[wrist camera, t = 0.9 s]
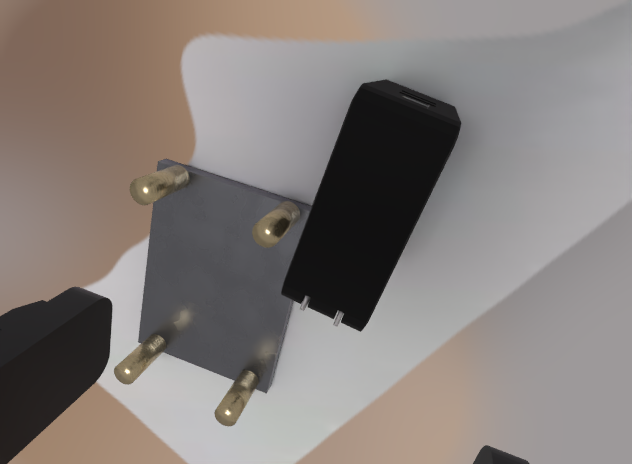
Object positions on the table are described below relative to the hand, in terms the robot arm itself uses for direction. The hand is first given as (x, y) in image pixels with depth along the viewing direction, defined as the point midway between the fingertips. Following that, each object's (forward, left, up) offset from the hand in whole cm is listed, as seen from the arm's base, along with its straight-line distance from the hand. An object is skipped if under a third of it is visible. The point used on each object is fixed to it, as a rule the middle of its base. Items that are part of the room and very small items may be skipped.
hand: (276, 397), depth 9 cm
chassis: (+11, -9, -20) cm, 24 cm away
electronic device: (0, 0, -20) cm, 20 cm away
